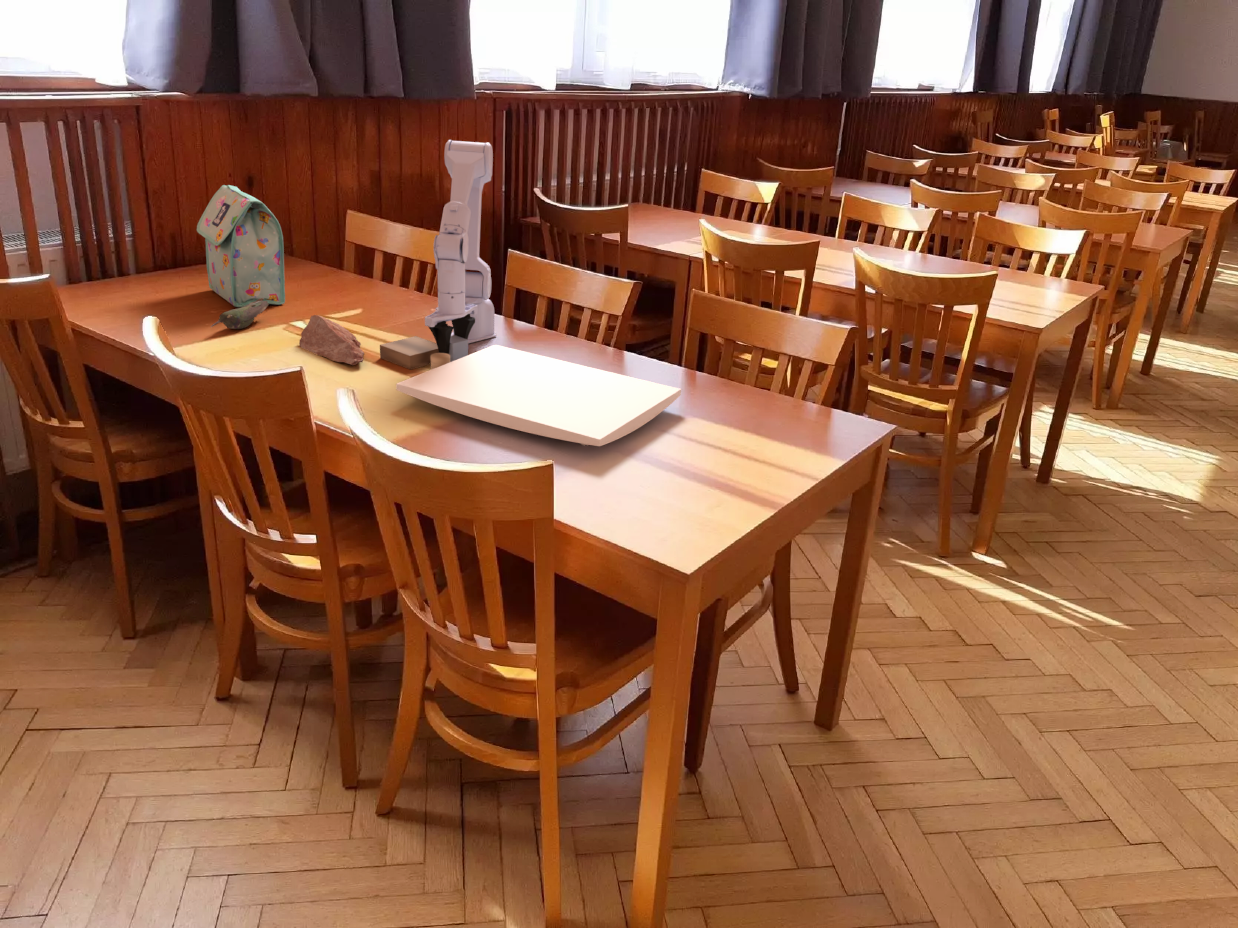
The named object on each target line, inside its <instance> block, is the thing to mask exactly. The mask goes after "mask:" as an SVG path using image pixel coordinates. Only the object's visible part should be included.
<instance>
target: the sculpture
mask: <svg viewBox="0 0 1238 928" xmlns="http://www.w3.org/2000/svg"><path fill="white" fill-rule="evenodd" d="M263 300H264V298H259V299H258V300H256V301H254V302H252V303H250V304H248V305H246V306H244V307H237V308H235V309H230V310H228V311H224V312H222V313H221V314H219V318H218V320H217V321H216V322H215V323H213V324H212V325H211V326H210V328H213V327H215V326H217V325H218V324H220V323H222V324H223V325H224V326H225V327H226V328H227V329H231V330H243V329H245V328H247V327H248V326H250V325H252V324H253V322H254V320H255V318H257V316H258V315H260V314H262V313H263V312H264V311H265V310H266V309H267V308H268V306H269V305H270V304H269V303H268V302H267V301H263Z"/></svg>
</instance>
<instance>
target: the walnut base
mask: <svg viewBox="0 0 1238 928" xmlns="http://www.w3.org/2000/svg"><path fill="white" fill-rule="evenodd" d="M434 353H439V350H438V347H437V343H436V342H433V341H430V340H428V339H425V338H422V337H420V336H416V335H415V336H411V337H406V338H404V339H403V338H402V339H398V340H395V341H390V342H386V343H383V344H379V358H380V359H382V360H384V361H387V362H390V363H392V364H394V365H397V366H400V367H402V368H405V369H408V370H413V369H417V368H420V367H421V368H422V367H424V366H427V365H431V354H434Z"/></svg>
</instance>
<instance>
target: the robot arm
mask: <svg viewBox="0 0 1238 928" xmlns="http://www.w3.org/2000/svg"><path fill="white" fill-rule="evenodd" d="M493 152H494V151H493V146H492V144H491V143H490V142H487V141H486V142H479V141H475V142H474V141H462V140H452V139H448V140H447V142H446V143H445V145H444V156H443V157H444V165H445V167H446V169H447V173H448V174H449V175H450V178H451V185H450V186H451V189H450V199H449V200H450V201H448V202H447V203H445V204H444V207H443V210H442V215H441V221H440V228H439V234H436V235H435V236H434V240H433V255H434V261H435V270H437V307H435V309H434V310H435V311H434V312H432V313H430V314H428V315H426V316H424V327H425V326H426V327H428V329H429V330H430V332H431V334H432V336H433V338H434V340H435V343H437V347H438V350H439V353H446V354H449V349H450V337H451V336H453V335H455V336H458V337H461V338H464V339H467V340H468V344H472V343H476V342H480V341H483V340H487V339H488V340H489V339H491V338H496V337H497V336H498V335H497V334H496V333H495V307H494V304H493V302H492V300H491V299H489V298H490V297H491V293H492V277H491V275H492V272H491V268H490V265H488V263H486V262H485V260H483V259H482V258H481V257H480V248H481V247H480V245H481V243H480V242H481V219H482V218H481V217H482V216H481V215H482V198H483V197H482V194H483V191H484V186H485V184H486V183H489V182H491V181H492V176H493V166H494V164H493V162H494V158H493V157H494V153H493ZM467 270H470V271H467ZM477 271H479V272H477ZM450 321H451V325H452V326H451V325H448V323H447V322H450Z"/></svg>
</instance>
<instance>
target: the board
mask: <svg viewBox="0 0 1238 928" xmlns="http://www.w3.org/2000/svg"><path fill="white" fill-rule="evenodd" d="M395 386H396V387H395V390H396V391H398V392H400V393H402V394H405V395H408V396H411V397H413V398H415V399H417V400H421V401H423V402H426V403H429V404H431V405H434V406H437V407H439V408H443V409H445V410H449V411H451V412H454V413H457V414H461V415H464V416H466V417H470V418H473V419H477V420H480V421H483V422H487V423H490V424H493V425H497V426H501V427H505V428H508V429H512V430H517V431H521V432H524V433H529V434H532V435H536V436H537V435H538V436H541V437H546V438H551V439H556V440H561V441H566V442H572V443H577V444H580V445H581V446H585V445H587V446H589V445H590V446H595V447H602V446H604V445H607V444H609V443H613V442H615V441H617V440H618V439H621V438H623V437H625V436H627V435H629V434H631V433H633V432H634V431H636V430H638V429H640V428H641V427H643V426H644V425H645V424H648V422H650V421H651V420H653V419H654V418H656V417H657V416H658V415H659V414H661V413H662V412H664V411H665V409H667V408H668V407H670V405H672V404H673V403H674V402H675V401H677V399H678V398H679V397H680V396H681V395H682V388H680V387H674V386H670V385H666V384H662V383H658V382H653V381H650V380H645V379H640V378H637V377H632V376H628V375H624V374H622V373H621V374H620V373H616V372H612V371H607V370H604V369H599V368H595V367H590V366H586V365H583V364H578V363H574V362H570V361H565V360H561V359H557V358H554V357H551V356H550V357H549V356H546V355H545V356H544V355H541V354H536V353H533V352H529V351H524V350H520V349H516V348H510V347H507V346H503V345H500V344H493V345H490V346H488V347H486V348H483V349H479V350H477V351H476V352H472V353H470V354H468V355H467V356H465V357H462V358H460V359H457V360H455V361H452V362H450V363H447V364H445V365H442V366H440V367H437V368H434V369H432V370H431V369H430V370H427V371H424V372H422V373H420V374H418V375H417V374H416V375H415V376H412V377H410V378H406V379H405V380H402V381H400V382H397V383H395Z"/></svg>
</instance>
